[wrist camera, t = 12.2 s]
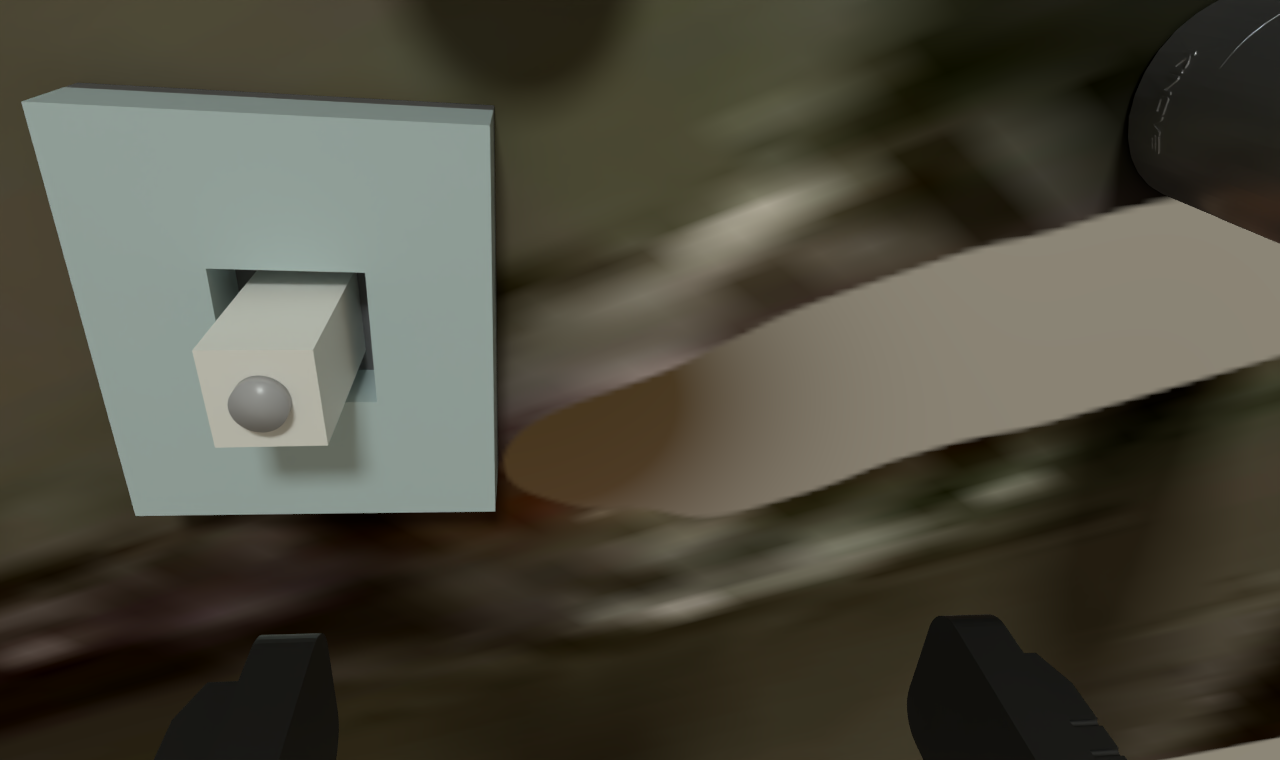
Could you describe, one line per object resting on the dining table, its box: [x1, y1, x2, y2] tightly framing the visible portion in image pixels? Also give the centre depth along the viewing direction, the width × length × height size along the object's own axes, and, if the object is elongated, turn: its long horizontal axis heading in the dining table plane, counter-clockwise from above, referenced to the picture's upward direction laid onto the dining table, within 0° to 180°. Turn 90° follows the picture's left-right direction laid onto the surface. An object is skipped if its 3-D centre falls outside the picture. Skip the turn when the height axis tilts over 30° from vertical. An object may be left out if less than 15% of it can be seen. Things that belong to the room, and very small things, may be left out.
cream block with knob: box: [192, 270, 366, 448], centre depth 33 cm, size 4×4×9 cm
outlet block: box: [22, 83, 498, 516], centre depth 35 cm, size 16×18×4 cm
